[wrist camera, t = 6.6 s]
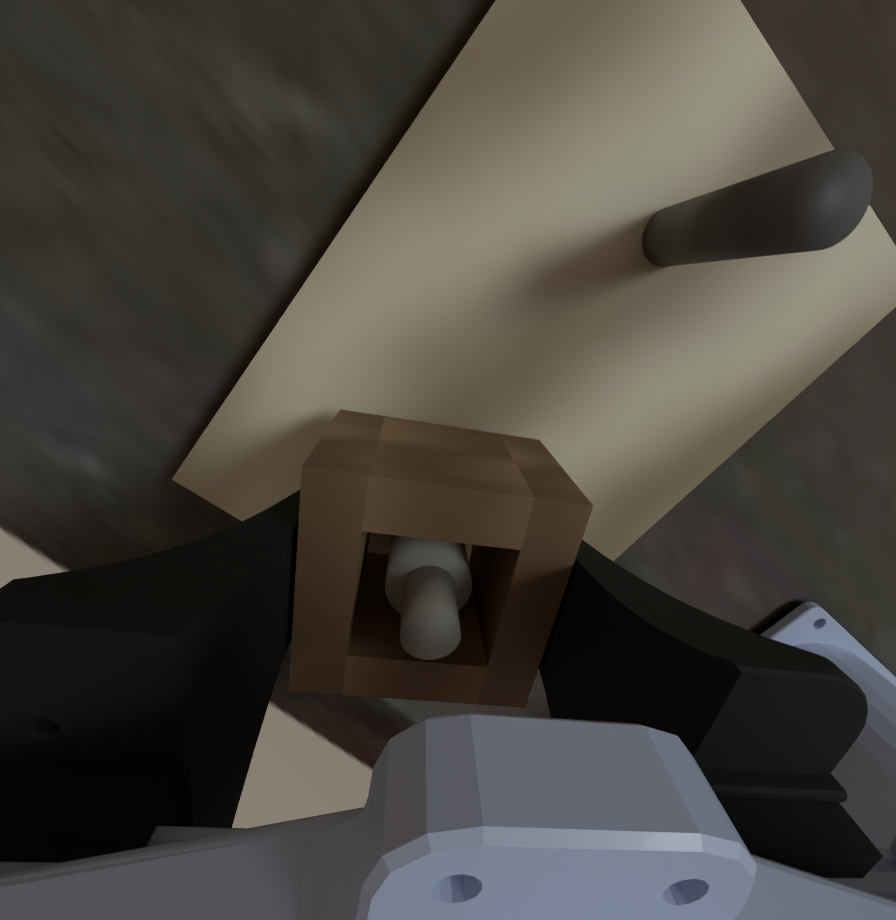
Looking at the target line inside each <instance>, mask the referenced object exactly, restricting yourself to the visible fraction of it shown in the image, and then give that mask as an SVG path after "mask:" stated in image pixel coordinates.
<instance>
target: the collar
mask: <svg viewBox="0 0 896 920" xmlns="http://www.w3.org/2000/svg"><path fill="white" fill-rule="evenodd" d="M592 509H593V505H592V503H591V502H590V501H589V500H588V498H587V497H586V496H585V495H584V494H583V492H582V491H581V490H580V489H579V487H578V486H577V485H576V484H575V483H574V481H573V480H572V479H571V478H570V477H569V475H568V474H567V473H566V472H565V470H564V469H563V468H562V467H561V466H560V464H559V463H558V462H557V461H556V459H555V458H554V457H553V456H552V455H551V453H550V452H549V451H548V450H547V448H546V447H545V446H544V445H543V444H542V442H541V441H540V440H537V439H531V438H524V437H518V436H511V435H505V434H498V433H492V432H485V431H479V430H472V429H466V428H459V427H453V426H446V425H440V424H433V423H427V422H420V421H414V420H407V419H400V418H394V417H387V416H381V415H374V414H368V413H361V412H355V411H348V410H342V409H340V411H339V412H338V413H337V415H336V416H335V418H334V419H333V421H332V422H331V424H330V425H329V427H328V428H327V430H326V431H325V433H324V434H323V436H322V437H321V439H320V440H319V442H318V443H317V445H316V446H315V448H314V449H313V451H312V452H311V453H310V455H309V456H308V458H307V459H306V461H305V462H304V464H303V465H302V472H301V489H300V506H299V524H298V541H297V558H296V576H295V593H294V610H293V628H292V645H291V662H290V680H289V691H295V692H309V693H324V694H338V695H352V696H366V697H381V698H395V699H409V700H423V701H438V702H452V703H466V704H480V705H495V706H509V707H523V708H525V706H526V703H527V700H528V697H529V694H530V691H531V688H532V685H533V682H534V680H535V677H536V674H537V671H538V668H539V665H540V662H541V659H542V656H543V653H544V650H545V647H546V644H547V641H548V638H549V635H550V632H551V629H552V626H553V624H554V621H555V618H556V615H557V612H558V609H559V606H560V603H561V600H562V597H563V594H564V591H565V588H566V585H567V582H568V579H569V576H570V573H571V570H572V568H573V565H574V562H575V559H576V556H577V553H578V550H579V547H580V544H581V541H582V538H583V535H584V532H585V529H586V526H587V523H588V520H589V517H590V515H591V512H592ZM370 532H371V533H380V534H388V535H397V536H405V537H414V538H422V539H430V540H439V541H447V542H456V543H464V544H473V546H472V551H471V555H470V559H469V569H470V574H471V580H472V590H471V594H470V597H469V599H468V601H467V602H466V604H465V605H464V606H463V607H462V608H461V609H460V610H459V611H458V615H459V623H460V631H461V638H460V642H459V644H458V646H457V647H456V649H455V650H454V651H453V652H451V653H450V654H448V655H447V656H445V657H442V658H439V659H434V660H424V659H419V658H416V657H414V656H412V655H410V654H409V653H407V652H406V651H405V650H404V648H403V647H402V645H401V642H400V626H401V614H400V613H399V612H397V611H396V610H395V609H394V608H393V607H392V606H391V604H390V603H389V601H388V599H387V596H386V592H385V582H386V573H387V564H388V556H389V554H381V553H372V552H368V545H369V537H370Z"/></svg>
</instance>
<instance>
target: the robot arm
mask: <svg viewBox="0 0 896 920" xmlns="http://www.w3.org/2000/svg"><path fill="white" fill-rule="evenodd" d="M299 506H300V490H298V491H296V492H295V493H293V494H291V495H290V496H288V497H286V498H285V499H283V500H281V501H280V502H278V503H276V504H274V505H273V506H271V507H269V508H268V509H266V510H264V511H262V512H260V513H258V514H256V515H254V516H252V517H250V518H248V519H246V520H244V521H242V522H240V523H238V524H236V525H234V526H232V527H230V528H227V529H225V530H223V531H220V532H218V533H215V534H213V535H210V536H208V537H205V538H202V539H200V540H197V541H194V542H191V543H188V544H184V545H181V546H178V547H175V548H171V549H168V550H165V551H161V552H158V553H155V554H151V555H147V556H143V557H139V558H135V559H131V560H127V561H122V562H117V563H113V564H108V565H103V566H98V567H93V568H87V569H82V570H75V571H69V572H62V573H56V574H49V575H42V576H36V577H29V578H21V579H14V580H12V581H11V582H9V583H8V584H6V585H5V586H3V587H2V588H1V589H0V920H896V677H895V676H893V675H892V674H891V673H890V672H889V671H888V670H887V669H886V668H885V667H884V666H883V665H882V664H881V663H880V662H879V661H878V660H877V659H875V658H874V657H873V656H872V655H871V654H870V653H869V652H868V651H867V650H866V649H865V648H864V647H863V646H862V645H861V644H860V643H859V642H857V641H856V640H855V639H854V638H853V637H852V636H851V635H850V634H849V633H848V632H847V631H846V630H845V629H844V628H843V627H842V626H841V625H839V624H838V623H837V622H836V621H835V620H834V619H833V618H832V617H831V616H830V615H829V614H828V613H827V612H826V611H825V610H824V609H822V608H821V607H820V606H819V605H817V604H816V603H814V602H806V603H803V604H801V605H799V606H798V607H797V608H795V609H794V610H793V611H791V612H790V613H789V614H787V615H786V616H785V617H783V618H782V619H781V620H779V621H778V622H777V623H775V624H774V625H773V626H771V627H770V628H769V629H767V630H766V631H765V632H763V633H762V634H761V635H759V634H756V633H754V632H751V631H748V630H746V629H743V628H741V627H738V626H736V625H733V624H731V623H728V622H726V621H723V620H721V619H719V618H716V617H714V616H712V615H709V614H707V613H705V612H703V611H701V610H699V609H696V608H694V607H692V606H690V605H688V604H686V603H684V602H682V601H680V600H678V599H676V598H674V597H672V596H670V595H668V594H666V593H664V592H662V591H661V590H659V589H657V588H655V587H654V586H652V585H650V584H648V583H646V582H645V581H643V580H641V579H640V578H638V577H636V576H635V575H633V574H631V573H630V572H628V571H627V570H625V569H624V568H622V567H621V566H619V565H618V564H616V563H615V562H613V561H612V560H610V559H609V558H607V557H606V556H604V555H603V554H601V553H600V552H599V551H597V550H596V549H595V548H593V547H592V546H590V545H589V544H588V543H586V542H585V541H584V540H582V541H581V544H580V547H579V550H578V553H577V556H576V559H575V562H574V565H573V568H572V570H571V573H570V576H569V579H568V582H567V585H566V588H565V591H564V594H563V597H562V600H561V603H560V606H559V609H558V612H557V615H556V618H555V621H554V624H553V626H552V629H551V632H550V635H549V638H548V641H547V644H546V647H545V650H544V653H543V656H542V659H541V662H540V665H539V671H540V674H541V677H542V681H543V685H544V688H545V692H546V697H547V702H548V706H549V711H550V716H551V718H543V717H528V716H513V715H499V714H484V713H469V712H466V713H458V714H450V715H441V716H433V717H428V718H426V719H424V720H422V721H420V722H419V723H417V724H415V725H413V726H411V727H410V728H408V729H406V730H404V731H402V732H400V733H399V734H397V735H395V736H394V737H393V738H391V739H390V740H389V741H388V743H387V745H386V747H385V748H384V750H383V752H382V753H381V755H380V757H379V758H378V760H377V762H376V763H375V765H374V767H373V772H372V778H371V784H370V790H369V796H368V799H367V802H366V804H365V807H363V808H357V809H352V810H347V811H341V812H335V813H330V814H325V815H319V816H313V817H308V818H302V819H297V820H292V821H286V822H280V823H275V824H269V825H264V826H258V827H253V828H248V829H246V828H232V824H233V821H234V817H235V814H236V810H237V807H238V803H239V800H240V796H241V793H242V790H243V786H244V782H245V779H246V776H247V772H248V769H249V766H250V762H251V759H252V756H253V752H254V749H255V746H256V742H257V739H258V736H259V732H260V729H261V725H262V723H263V720H264V716H265V713H266V710H267V706H268V703H269V700H270V697H271V694H272V691H273V688H274V685H275V681H276V678H277V675H278V672H279V669H280V666H281V664H282V661H283V658H284V656H285V653H286V651H287V648H288V646H289V644H290V641H291V639H292V628H293V610H294V593H295V576H296V558H297V541H298V524H299Z"/></svg>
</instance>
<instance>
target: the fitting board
mask: <svg viewBox="0 0 896 920" xmlns="http://www.w3.org/2000/svg"><path fill="white" fill-rule="evenodd" d="M872 189H873V177H872V172H871V169H870V166H869V164H868V162H867V161H866V159H865V158H864V157H863V156H862V155H861V154H859V153H858V152H856V151H854V150H851V149H835V150H834V148H833V146H832V145H831V143H830V142H829V140H828V138H827V137H826V135H825V134H824V132H823V131H822V129H821V127H820V126H819V124H818V123H817V121H816V120H815V118H814V116H813V115H812V113H811V112H810V110H809V108H808V107H807V105H806V104H805V102H804V101H803V99H802V97H801V96H800V94H799V93H798V91H797V89H796V88H795V86H794V85H793V83H792V82H791V80H790V78H789V77H788V75H787V74H786V72H785V70H784V69H783V67H782V66H781V64H780V63H779V61H778V59H777V58H776V56H775V55H774V53H773V51H772V50H771V48H770V47H769V45H768V44H767V42H766V40H765V39H764V37H763V36H762V34H761V33H760V31H759V29H758V28H757V26H756V25H755V23H754V21H753V20H752V18H751V17H750V15H749V14H748V12H747V10H746V9H745V7H744V6H743V4H742V2H741V1H740V0H495V2H494V3H493V5H492V6H491V8H490V9H489V11H488V12H487V14H486V15H485V17H484V18H483V20H482V21H481V23H480V24H479V26H478V27H477V29H476V30H475V32H474V33H473V34H472V36H471V37H470V39H469V40H468V42H467V43H466V45H465V46H464V48H463V49H462V51H461V52H460V54H459V55H458V57H457V58H456V60H455V61H454V63H453V64H452V66H451V67H450V68H449V70H448V71H447V73H446V74H445V76H444V77H443V79H442V80H441V82H440V83H439V85H438V86H437V88H436V89H435V91H434V92H433V94H432V95H431V97H430V98H429V100H428V101H427V102H426V104H425V105H424V107H423V108H422V110H421V111H420V113H419V114H418V116H417V117H416V119H415V120H414V122H413V123H412V125H411V126H410V128H409V129H408V131H407V132H406V134H405V135H404V137H403V138H402V139H401V141H400V142H399V144H398V145H397V147H396V148H395V150H394V151H393V153H392V154H391V156H390V157H389V159H388V160H387V162H386V163H385V165H384V166H383V168H382V169H381V171H380V172H379V173H378V175H377V176H376V178H375V179H374V181H373V182H372V184H371V185H370V187H369V188H368V190H367V191H366V193H365V194H364V196H363V197H362V199H361V200H360V202H359V203H358V205H357V206H356V207H355V209H354V210H353V212H352V213H351V215H350V216H349V218H348V219H347V221H346V222H345V224H344V225H343V227H342V228H341V230H340V231H339V233H338V234H337V236H336V237H335V239H334V240H333V241H332V243H331V244H330V246H329V247H328V249H327V250H326V252H325V253H324V255H323V256H322V258H321V259H320V261H319V262H318V264H317V265H316V267H315V268H314V270H313V271H312V273H311V274H310V276H309V277H308V278H307V280H306V281H305V283H304V284H303V286H302V287H301V289H300V290H299V292H298V293H297V295H296V296H295V298H294V299H293V301H292V302H291V304H290V305H289V307H288V308H287V310H286V311H285V312H284V314H283V315H282V317H281V318H280V320H279V321H278V323H277V324H276V326H275V327H274V329H273V330H272V332H271V333H270V335H269V336H268V338H267V339H266V341H265V342H264V344H263V345H262V346H261V348H260V349H259V351H258V352H257V354H256V355H255V357H254V358H253V360H252V361H251V363H250V364H249V366H248V367H247V369H246V370H245V372H244V373H243V375H242V376H241V378H240V379H239V381H238V382H237V383H236V385H235V386H234V388H233V389H232V391H231V392H230V394H229V395H228V397H227V398H226V400H225V401H224V403H223V404H222V406H221V407H220V409H219V410H218V412H217V413H216V415H215V416H214V417H213V419H212V420H211V422H210V423H209V425H208V426H207V428H206V429H205V431H204V432H203V434H202V435H201V437H200V438H199V440H198V441H197V443H196V444H195V446H194V447H193V449H192V450H191V451H190V453H189V454H188V456H187V457H186V459H185V460H184V462H183V463H182V465H181V466H180V468H179V469H178V471H177V472H176V474H175V475H174V477H173V478H172V480H174V481H175V482H177V483H179V484H180V485H182V486H184V487H185V488H187V489H189V490H190V491H192V492H194V493H195V494H197V495H199V496H200V497H202V498H204V499H205V500H207V501H209V502H210V503H212V504H214V505H215V506H217V507H219V508H220V509H222V510H224V511H225V512H227V513H229V514H230V515H232V516H234V517H235V518H237V519H239V520H240V521H244V520H246V519H248V518H250V517H252V516H254V515H256V514H258V513H260V512H262V511H264V510H266V509H268V508H269V507H271V506H273V505H274V504H276V503H278V502H280V501H281V500H283V499H285V498H286V497H288V496H290V495H291V494H293V493H295V492H296V491H298V490H300V489H301V472H302V465H303V464H304V462H305V461H306V459H307V458H308V456H309V455H310V453H311V452H312V451H313V449H314V448H315V446H316V445H317V443H318V442H319V440H320V439H321V437H322V436H323V434H324V433H325V431H326V430H327V428H328V427H329V425H330V424H331V422H332V421H333V419H334V418H335V416H336V415H337V413H338V412H339V411H340V409H342V410H348V411H355V412H361V413H368V414H374V415H381V416H387V417H394V418H400V419H407V420H414V421H420V422H427V423H433V424H440V425H446V426H453V427H459V428H466V429H472V430H479V431H485V432H492V433H498V434H505V435H511V436H518V437H524V438H531V439H537V440H540V441H541V442H542V444H543V445H544V446H545V447H546V448H547V450H548V451H549V452H550V453H551V455H552V456H553V457H554V458H555V459H556V461H557V462H558V463H559V464H560V466H561V467H562V468H563V469H564V470H565V472H566V473H567V474H568V475H569V477H570V478H571V479H572V480H573V481H574V483H575V484H576V485H577V486H578V487H579V489H580V490H581V491H582V492H583V494H584V495H585V496H586V497H587V498H588V500H589V501H590V502H591V503H592V505H593V509H592V512H591V515H590V517H589V520H588V523H587V526H586V529H585V532H584V535H583V538H582V540H584V541H585V542H586V543H588V544H589V545H590V546H592V547H593V548H595V549H596V550H597V551H599V552H600V553H601V554H603V555H604V556H606V557H607V558H609V559H610V560H612V561H614V560H615V559H616V558H617V557H618V556H619V555H621V554H622V553H623V552H624V551H625V550H626V549H627V548H628V547H629V546H631V545H632V544H633V543H634V542H635V541H636V540H637V539H638V538H639V537H641V536H642V535H643V534H644V533H645V532H646V531H647V530H648V529H649V528H651V527H652V526H653V525H654V524H655V523H656V522H657V521H658V520H659V519H661V518H662V517H663V516H664V515H665V514H666V513H667V512H668V511H669V510H671V509H672V508H673V507H674V506H675V505H676V504H677V503H678V502H679V501H681V500H682V499H683V498H684V497H685V496H686V495H687V494H688V493H689V492H691V491H692V490H693V489H694V488H695V487H696V486H697V485H698V484H699V483H701V482H702V481H703V480H704V479H705V478H706V477H707V476H708V475H709V474H711V473H712V472H713V471H714V470H715V469H716V468H717V467H718V466H719V465H721V464H722V463H723V462H724V461H725V460H726V459H727V458H728V457H729V456H731V455H732V454H733V453H734V452H735V451H736V450H737V449H738V448H739V447H741V446H742V445H743V444H744V443H745V442H746V441H747V440H748V439H749V438H751V437H752V436H753V435H754V434H755V433H756V432H757V431H758V430H759V429H761V428H762V427H763V426H764V425H765V424H766V423H767V422H768V421H769V420H771V419H772V418H773V417H774V416H775V415H776V414H777V413H778V412H779V411H781V410H782V409H783V408H784V407H785V406H786V405H787V404H788V403H789V402H791V401H792V400H793V399H794V398H795V397H796V396H797V395H798V394H799V393H801V392H802V391H803V390H804V389H805V388H806V387H807V386H808V385H809V384H811V383H812V382H813V381H814V380H815V379H816V378H817V377H818V376H819V375H821V374H822V373H823V372H824V371H825V370H826V369H827V368H828V367H829V366H831V365H832V364H833V363H834V362H835V361H836V360H837V359H838V358H839V357H841V356H842V355H843V354H844V353H845V352H846V351H847V350H848V349H849V348H850V347H852V346H853V345H854V344H855V343H856V342H857V341H858V340H859V339H860V338H862V337H863V336H864V335H865V334H866V333H867V332H868V331H869V330H870V329H872V328H873V327H874V326H875V325H876V324H877V323H878V322H879V321H880V320H882V319H883V318H884V317H885V316H886V315H887V314H888V313H889V312H890V311H892V310H893V309H894V308H895V307H896V246H895V244H894V243H893V241H892V240H891V238H890V237H889V235H888V233H887V232H886V230H885V229H884V227H883V225H882V224H881V222H880V221H879V219H878V218H877V216H876V214H875V213H874V211H873V210H872V208H871V207H870V205H869V203H870V199H871V195H872ZM472 546H473V544H464V543H456V542H447V541H439V540H430V539H422V538H414V537H405V536H397V535H388V534H380V533H371V532H370V537H369V545H368V552H372V553H381V554H389V556H388V564H387V573H386V582H385V592H386V596H387V599H388V601H389V603H390V604H391V606H392V607H393V608H394V609H395V610H396V611H397V612H399V613H400V614H401V626H400V642H401V645H402V647H403V648H404V650H405V651H406V652H407V653H409V654H410V655H412V656H414V657H416V658H419V659H424V660H434V659H439V658H442V657H445V656H447V655H448V654H450V653H451V652H453V651H454V650H455V649H456V647H457V646H458V644H459V642H460V638H461V631H460V623H459V615H458V611H459V610H460V609H461V608H462V607H463V606H464V605H465V604H466V602H467V601H468V599H469V597H470V594H471V590H472V580H471V574H470V569H469V559H470V555H471V551H472Z"/></svg>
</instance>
